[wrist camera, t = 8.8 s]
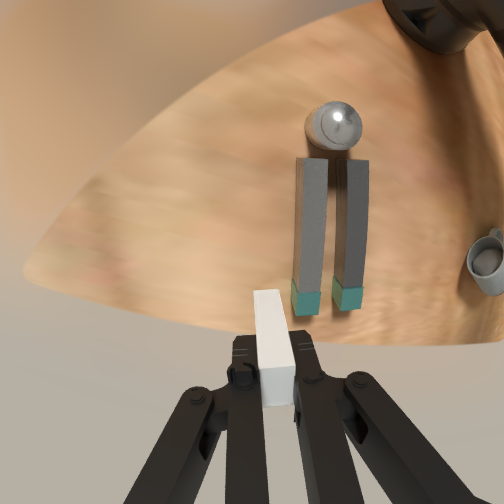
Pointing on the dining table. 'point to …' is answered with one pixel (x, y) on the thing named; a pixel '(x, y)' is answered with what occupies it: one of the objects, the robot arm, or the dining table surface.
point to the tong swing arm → (316, 210)
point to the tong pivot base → (346, 215)
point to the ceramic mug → (488, 262)
